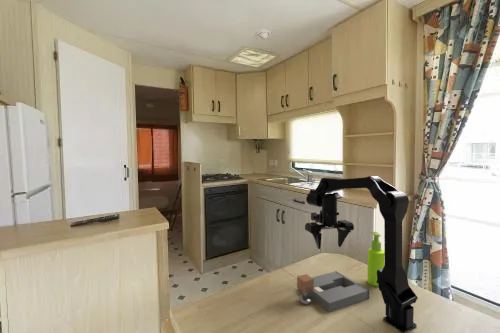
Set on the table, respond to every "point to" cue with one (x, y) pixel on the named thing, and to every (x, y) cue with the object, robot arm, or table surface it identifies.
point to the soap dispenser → (375, 259)
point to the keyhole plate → (337, 291)
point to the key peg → (305, 288)
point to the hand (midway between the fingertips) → (329, 247)
